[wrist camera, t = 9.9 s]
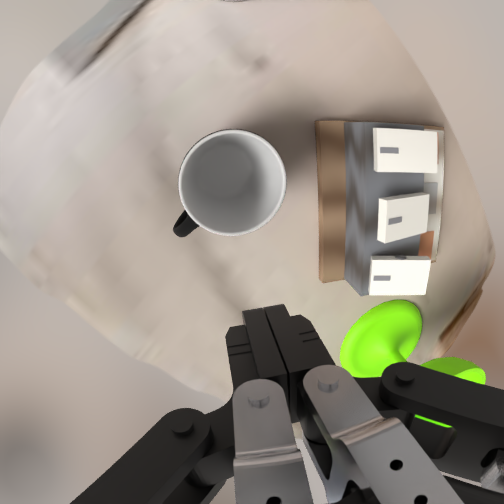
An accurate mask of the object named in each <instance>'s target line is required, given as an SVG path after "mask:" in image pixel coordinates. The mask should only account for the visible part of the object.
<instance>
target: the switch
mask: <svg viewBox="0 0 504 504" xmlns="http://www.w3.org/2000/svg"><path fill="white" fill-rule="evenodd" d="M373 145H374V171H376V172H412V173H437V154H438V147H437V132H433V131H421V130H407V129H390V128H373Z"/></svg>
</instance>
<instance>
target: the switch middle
mask: <svg viewBox="0 0 504 504" xmlns="http://www.w3.org/2000/svg"><path fill="white" fill-rule="evenodd" d="M428 210H429V194H426V193H423V192H420V193H412V194H400V195H398V196H391V197H384V198H379V213H378V235H377V240H378V241H381V242H383V243H388V242H392V241H396V240H400V239H403V238H407V237H411V236H414V235H418V234H422V233H425V232H427V222H428Z"/></svg>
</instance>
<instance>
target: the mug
mask: <svg viewBox="0 0 504 504" xmlns="http://www.w3.org/2000/svg"><path fill="white" fill-rule="evenodd" d="M286 185H287V177H286V171H285V167H284V164H283V161H282V159H281V157H280V155H279V154H278V152H277V151H276V149H275V148H274V147H273V146H272V145H271V144H270V143H269V142H268V141H267V140H265V139H264V138H262V137H261V136H259V135H257V134H255V133H252V132H249V131H245V130H240V129H226V130H220V131H216V132H214V133H211V134H209V135H207V136H205V137H203V138H202V139H200V140H199V141H198V142H197V143H196V144H195V145H194V146H193V147H192V148H191V149H190V150H189V152H188V153H187V154H186V156H185V158H184V160H183V162H182V165H181V168H180V172H179V178H178V189H179V195H180V199H181V202H182V204H183V207H184V208H185V210H184V212H183V213H182V214H181V216H180V217H179V219H178V220H177V222H176V223H175V225H174V228H173V231H174V233H175V234H176V235H177V236H179V237H185V236H187V235H188V234H189V233H191V232H192V231H193V230H194V229H196V228H197V227H199V226H201V227H202V228H204V229H206V230H208V231H210V232H212V233H215V234H219V235H224V236H238V235H244V234H248V233H251V232H253V231H255V230H257V229H259V228H261V227H262V226H264V225H265V224H266V223H268V222H269V221H270V220H271V219H272V218H273V217H274V216H275V214H276V213H277V211H278V210H279V208H280V206H281V204H282V202H283V200H284V197H285V193H286Z"/></svg>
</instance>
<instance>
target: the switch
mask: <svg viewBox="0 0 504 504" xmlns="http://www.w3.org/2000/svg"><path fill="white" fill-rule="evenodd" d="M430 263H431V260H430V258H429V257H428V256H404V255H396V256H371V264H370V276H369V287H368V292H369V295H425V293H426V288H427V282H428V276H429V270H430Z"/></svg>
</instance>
